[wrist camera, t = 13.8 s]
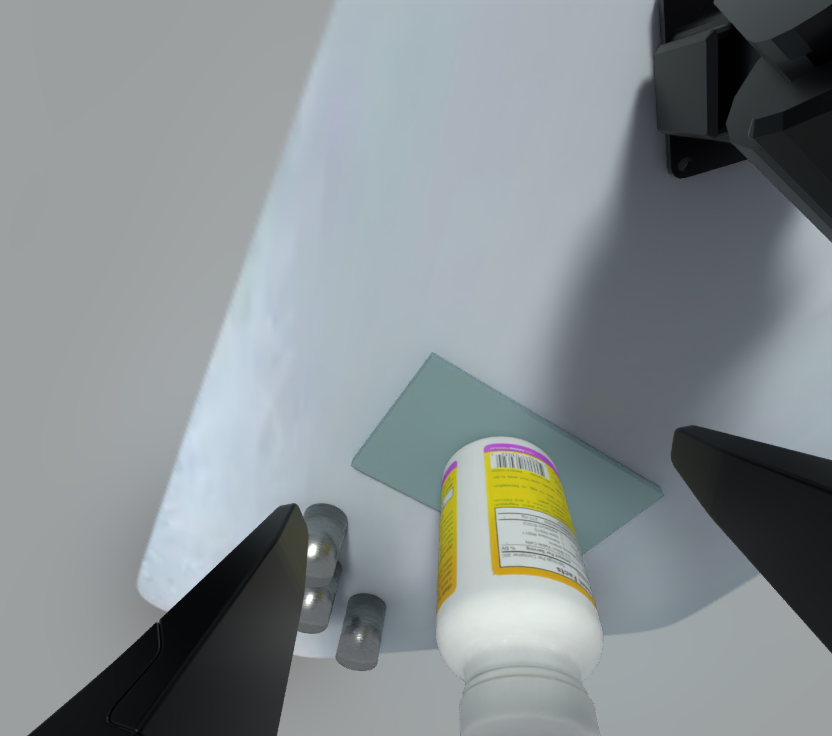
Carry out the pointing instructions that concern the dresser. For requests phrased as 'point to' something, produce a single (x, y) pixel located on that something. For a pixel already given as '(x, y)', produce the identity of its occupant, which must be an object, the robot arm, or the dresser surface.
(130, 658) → the robot arm
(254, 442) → the dresser surface
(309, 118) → the dresser surface
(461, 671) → the supplement bottle
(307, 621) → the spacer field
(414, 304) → the dresser surface
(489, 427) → the rubber mat
